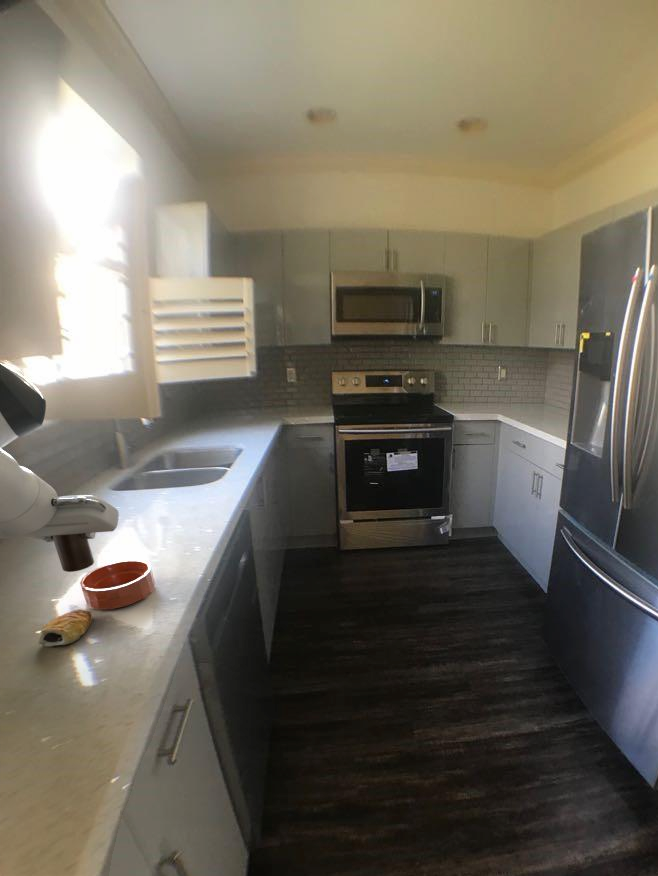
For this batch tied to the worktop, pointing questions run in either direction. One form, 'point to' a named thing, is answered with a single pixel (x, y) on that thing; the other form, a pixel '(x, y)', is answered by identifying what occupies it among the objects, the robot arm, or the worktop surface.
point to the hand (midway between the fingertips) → (72, 536)
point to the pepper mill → (73, 552)
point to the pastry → (65, 628)
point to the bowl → (118, 584)
